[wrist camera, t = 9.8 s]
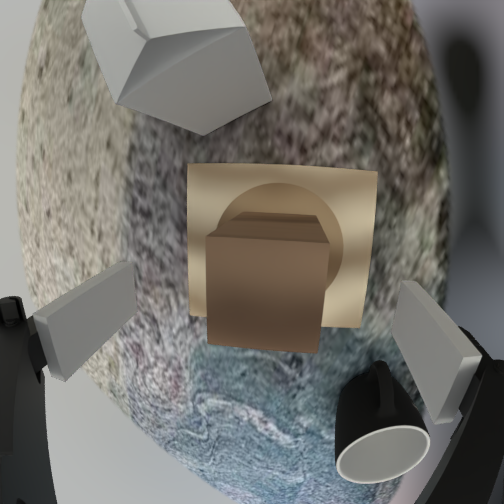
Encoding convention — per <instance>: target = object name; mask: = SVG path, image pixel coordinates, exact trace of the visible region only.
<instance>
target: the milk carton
mask: <svg viewBox="0 0 504 504" xmlns="http://www.w3.org/2000/svg"><path fill="white" fill-rule="evenodd" d="M81 18H82V21H83V24H84V27H85V30H86V32H87V35H88V38H89V41H90V43H91V46H92V48H93V51H94V54H95V56H96V59H97V61H98V64H99V66H100V69H101V71H102V74H103V76H104V79H105V81H106V84H107V86H108V89H109V91H110V93H111V96H112V98H113V100H114V102H115V104H118V105H121V106H124V107H127V108H130V109H133V110H136V111H138V112H141V113H144V114H147V115H150V116H153V117H155V118H158V119H161V120H163V121H166V122H169V123H171V124H174V125H177V126H179V127H182V128H184V129H187V130H189V131H192V132H194V133H197V134H199V135H202V136H205V135H207V134H208V133H210V132H212V131H214V130H216V129H217V128H219V127H221V126H223V125H225V124H227V123H229V122H230V121H232V120H234V119H236V118H238V117H240V116H242V115H244V114H246V113H248V112H250V111H252V110H254V109H256V108H258V107H260V106H262V105H264V104H266V103H268V102H270V101H272V97H271V94H270V91H269V88H268V85H267V82H266V79H265V77H264V74H263V71H262V68H261V65H260V62H259V59H258V57H257V54H256V51H255V48H254V46H253V43H252V40H251V38H250V35H249V32H248V30H247V28H246V25H245V23H244V22H243V20H242V18H241V17H240V15H239V14H238V12H237V11H236V10H235V8H234V7H233V5H232V4H231V2H230V1H229V0H86V3H85V6H84V9H83V12H82V16H81Z"/></svg>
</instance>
